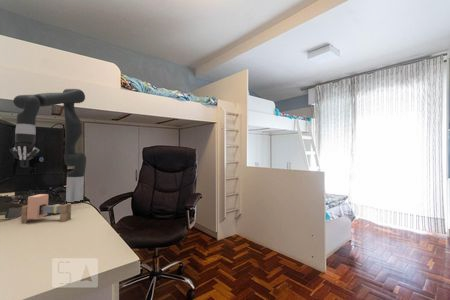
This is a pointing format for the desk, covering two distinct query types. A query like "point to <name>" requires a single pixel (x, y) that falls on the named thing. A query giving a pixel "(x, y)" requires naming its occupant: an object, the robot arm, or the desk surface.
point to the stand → (64, 213)
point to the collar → (36, 206)
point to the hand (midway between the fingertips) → (24, 167)
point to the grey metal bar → (49, 209)
